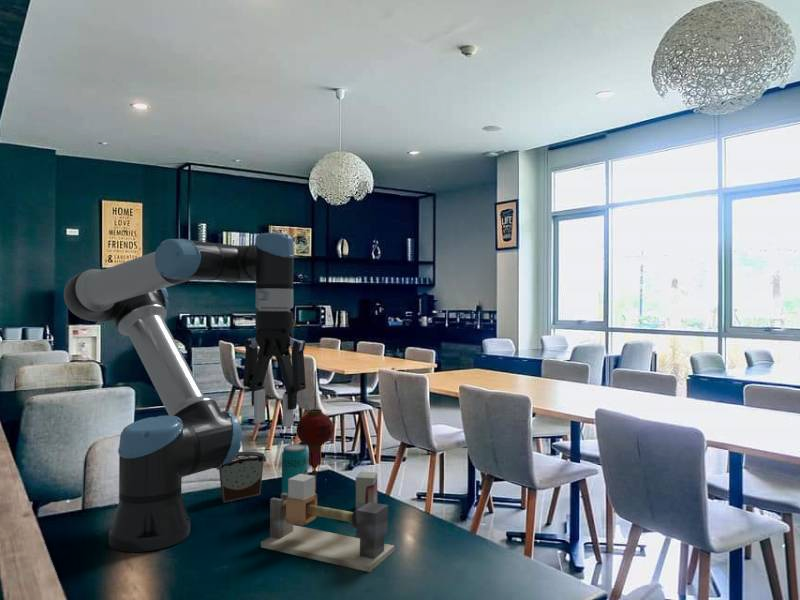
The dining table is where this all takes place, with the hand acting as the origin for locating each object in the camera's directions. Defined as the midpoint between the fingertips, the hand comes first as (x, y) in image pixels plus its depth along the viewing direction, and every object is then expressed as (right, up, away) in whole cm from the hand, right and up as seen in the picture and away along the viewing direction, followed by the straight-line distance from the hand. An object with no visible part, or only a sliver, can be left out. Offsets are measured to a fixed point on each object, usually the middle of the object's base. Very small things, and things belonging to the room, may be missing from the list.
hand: (273, 423), depth 120 cm
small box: (+18, -23, +17) cm, 34 cm away
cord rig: (+12, -23, -6) cm, 26 cm away
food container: (-14, -23, +26) cm, 37 cm away
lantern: (+4, -23, +31) cm, 39 cm away
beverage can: (+2, -23, +13) cm, 27 cm away
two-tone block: (+6, -18, -3) cm, 20 cm away
